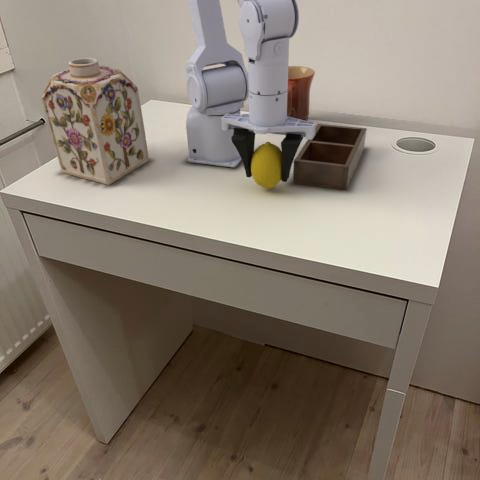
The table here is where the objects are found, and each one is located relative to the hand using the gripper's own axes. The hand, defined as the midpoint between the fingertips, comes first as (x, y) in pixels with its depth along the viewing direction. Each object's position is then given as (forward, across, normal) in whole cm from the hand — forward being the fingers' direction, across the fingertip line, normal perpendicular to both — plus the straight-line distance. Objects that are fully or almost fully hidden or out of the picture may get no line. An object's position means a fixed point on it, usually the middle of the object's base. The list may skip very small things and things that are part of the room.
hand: (267, 176), depth 82 cm
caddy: (+2, +8, +12) cm, 15 cm away
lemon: (+2, 0, 0) cm, 2 cm away
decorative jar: (+2, -31, 0) cm, 31 cm away
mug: (+2, -4, +28) cm, 28 cm away
